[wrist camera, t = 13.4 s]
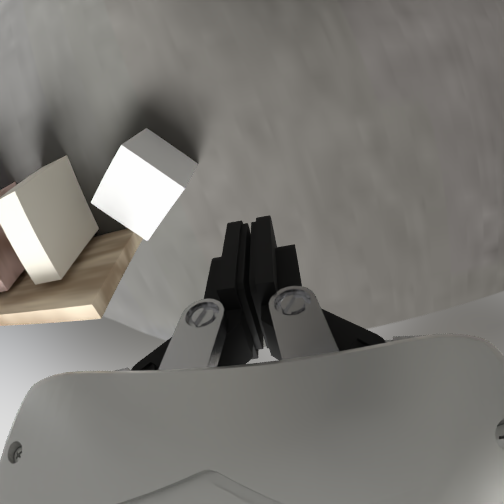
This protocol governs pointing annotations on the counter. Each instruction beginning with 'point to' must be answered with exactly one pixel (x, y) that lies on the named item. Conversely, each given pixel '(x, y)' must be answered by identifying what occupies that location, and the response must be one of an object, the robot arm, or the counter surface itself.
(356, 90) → the counter surface
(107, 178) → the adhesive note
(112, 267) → the wide wooden block
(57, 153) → the counter surface
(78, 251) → the white block
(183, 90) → the counter surface
